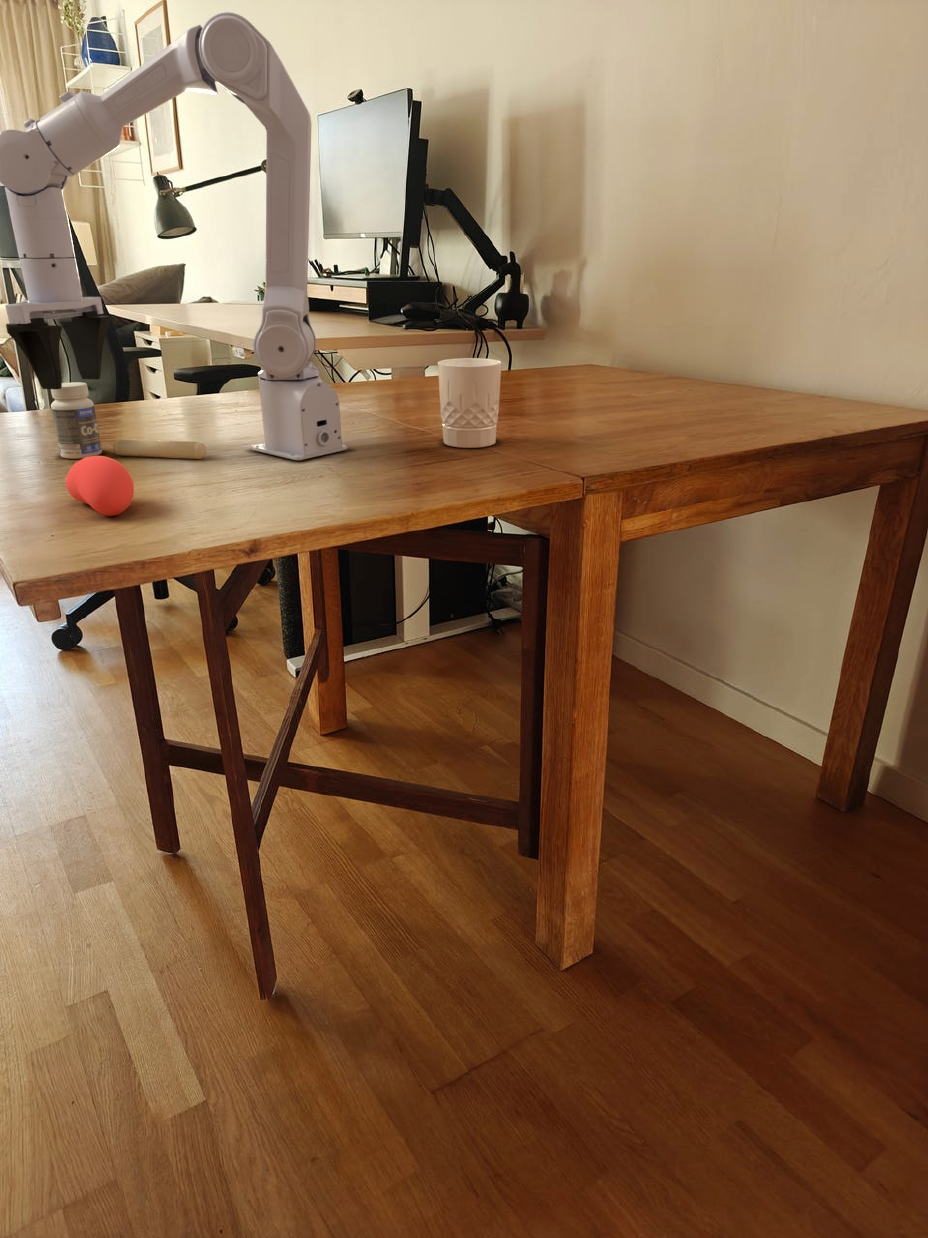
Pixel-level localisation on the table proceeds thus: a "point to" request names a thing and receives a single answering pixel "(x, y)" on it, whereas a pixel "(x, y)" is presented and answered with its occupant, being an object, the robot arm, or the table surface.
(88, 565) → the table surface
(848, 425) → the table surface
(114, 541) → the table surface
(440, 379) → the white cup
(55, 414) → the pill bottle
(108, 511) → the stress ball
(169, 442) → the dowel
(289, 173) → the robot arm
